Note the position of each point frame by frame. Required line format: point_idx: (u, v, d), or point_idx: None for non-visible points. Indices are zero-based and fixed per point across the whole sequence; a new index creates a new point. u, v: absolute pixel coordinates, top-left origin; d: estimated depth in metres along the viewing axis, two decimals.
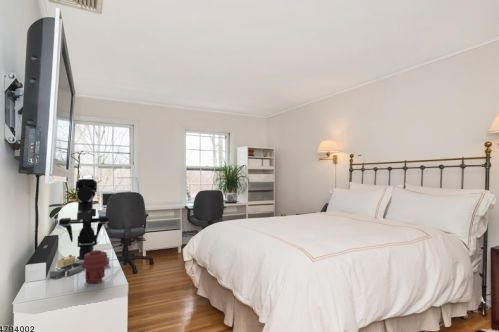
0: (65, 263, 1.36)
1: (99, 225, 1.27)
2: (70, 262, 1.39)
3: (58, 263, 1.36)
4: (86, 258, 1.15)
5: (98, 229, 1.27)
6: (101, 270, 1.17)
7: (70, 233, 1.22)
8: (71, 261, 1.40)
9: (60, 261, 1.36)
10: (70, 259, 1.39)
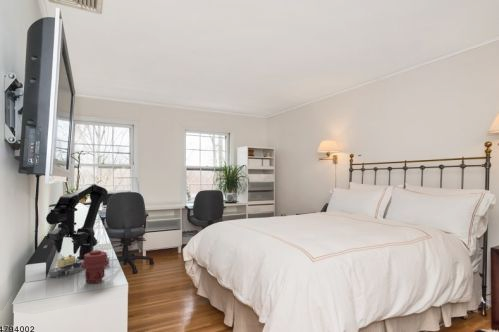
0: (65, 263, 1.36)
1: (73, 242, 1.36)
2: (70, 262, 1.39)
3: (58, 263, 1.36)
4: (86, 258, 1.15)
5: (74, 245, 1.37)
6: (101, 270, 1.17)
7: (56, 245, 1.39)
8: (71, 261, 1.40)
9: (60, 261, 1.36)
10: (70, 259, 1.39)
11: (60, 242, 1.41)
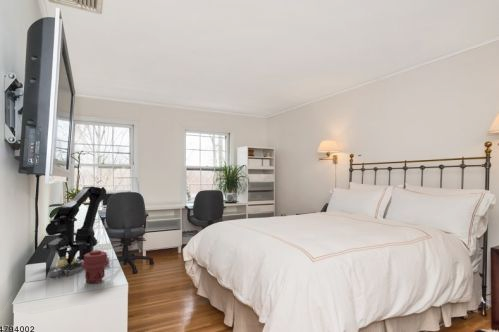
0: (65, 263, 1.36)
1: (68, 252, 1.37)
2: None
3: (58, 263, 1.36)
4: (86, 258, 1.15)
5: (69, 255, 1.37)
6: (101, 270, 1.17)
7: (60, 256, 1.39)
8: None
9: (60, 261, 1.36)
10: None
11: (64, 253, 1.41)
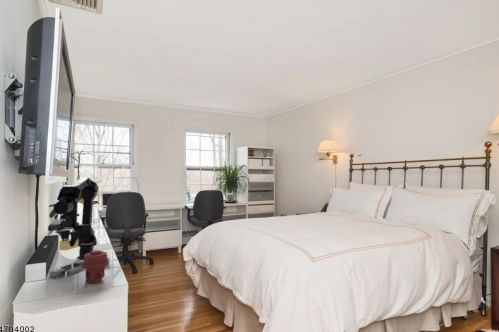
0: (68, 245, 1.29)
1: (71, 234, 1.29)
2: None
3: (60, 245, 1.28)
4: (86, 258, 1.15)
5: (71, 237, 1.30)
6: (101, 270, 1.17)
7: (62, 238, 1.31)
8: None
9: (62, 243, 1.28)
10: None
11: (67, 235, 1.33)
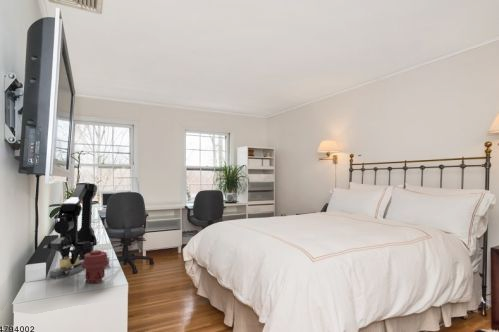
0: (68, 263, 1.28)
1: (71, 252, 1.28)
2: None
3: (61, 263, 1.27)
4: (86, 258, 1.15)
5: (72, 255, 1.29)
6: (101, 270, 1.17)
7: (62, 256, 1.30)
8: None
9: (63, 261, 1.27)
10: None
11: (67, 252, 1.32)
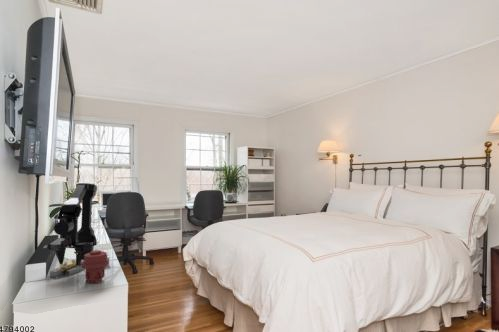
0: (68, 269, 1.28)
1: (76, 253, 1.27)
2: None
3: None
4: (86, 258, 1.15)
5: (77, 256, 1.28)
6: (101, 270, 1.17)
7: (58, 257, 1.31)
8: (74, 267, 1.31)
9: (62, 267, 1.27)
10: (73, 264, 1.31)
11: (62, 253, 1.33)
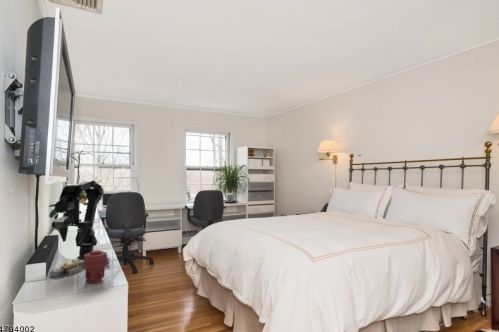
0: (68, 269, 1.28)
1: (79, 231, 1.36)
2: None
3: None
4: (86, 258, 1.15)
5: (79, 234, 1.37)
6: (101, 270, 1.17)
7: (61, 234, 1.39)
8: (74, 267, 1.31)
9: (62, 267, 1.27)
10: (73, 264, 1.31)
11: (65, 231, 1.41)
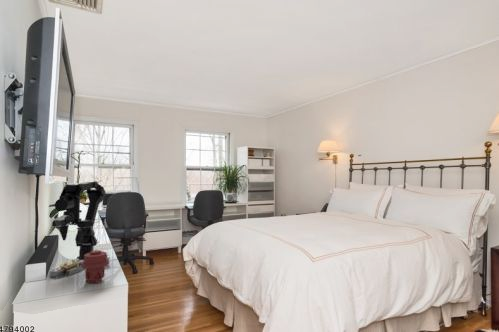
0: (68, 269, 1.28)
1: (78, 229, 1.37)
2: None
3: None
4: (86, 258, 1.15)
5: (79, 232, 1.38)
6: (101, 270, 1.17)
7: (61, 233, 1.40)
8: (74, 267, 1.31)
9: (63, 267, 1.27)
10: (73, 264, 1.31)
11: (65, 230, 1.42)
